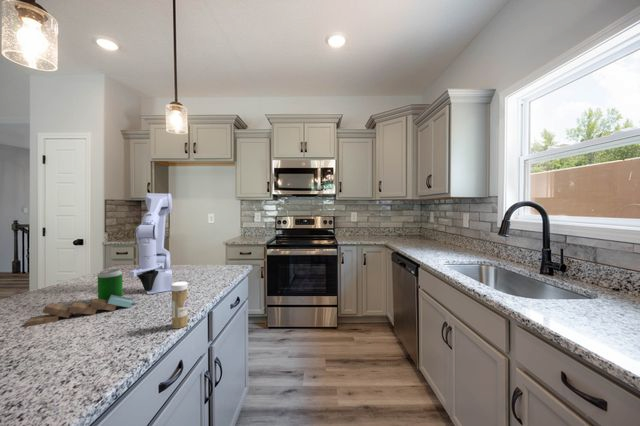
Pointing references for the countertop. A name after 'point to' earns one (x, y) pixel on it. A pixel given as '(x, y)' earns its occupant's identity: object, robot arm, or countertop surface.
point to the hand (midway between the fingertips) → (148, 290)
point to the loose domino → (120, 301)
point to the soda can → (109, 284)
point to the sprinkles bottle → (179, 304)
